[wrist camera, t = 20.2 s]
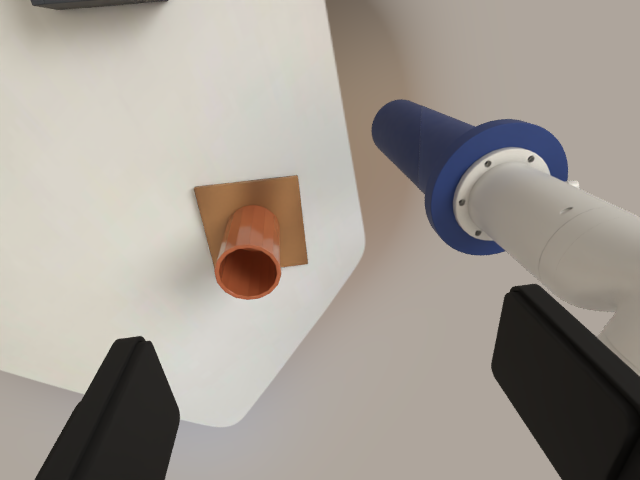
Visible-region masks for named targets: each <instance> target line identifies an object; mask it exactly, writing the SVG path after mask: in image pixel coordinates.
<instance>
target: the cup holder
mask: <svg viewBox="0 0 640 480" xmlns="http://www.w3.org/2000/svg"><path fill="white" fill-rule="evenodd" d="M157 1H168V0H31V3H32V5H33V6H39V7H44V8H50V9H56V10H64V9H76V8H88V7H99V6H111V5H123V4H135V3H146V2H157Z"/></svg>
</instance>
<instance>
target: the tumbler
mask: <svg viewBox="0 0 640 480" xmlns="http://www.w3.org/2000/svg"><path fill="white" fill-rule="evenodd" d="M214 272H215V276H216V280H217V283H218V284H219V285H220V287H221V288H222V289H223V290H224V291H225V292H226V293H228V294H230V295H232V296H233V297H235V298H241V299H246V300H247V299H248V300H250V299H258V298H261V297H263V296H265V295H267V294H269V293H271V292H272V291H273V290H274V288H275V287H276V286H277V285H278V283H279V280H280V277H281V233H280V225H279V222H278V219H277V218H276V216H275V215H274V214H273V213H272V212H271V211H270V210H268V209H266V208H264V207H261V206H257V205H248V206H244V207H241V208H239V209H238V210H236V211H235V212H234V213H233V214H232V215H231V217H230V218H229V220H228V223H227V227H226V230H225V234H224V237H223V241H222V244H221V248H220V251H219V255H218V258H217V262H216V266H215V271H214Z"/></svg>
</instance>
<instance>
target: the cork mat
mask: <svg viewBox="0 0 640 480" xmlns="http://www.w3.org/2000/svg"><path fill="white" fill-rule="evenodd" d="M194 191H195V195H196V199H197V203H198V206H199V210H200V214H201V218H202V222H203V226H204V229H205V233H206V237H207V241H208V245H209V249H210V252H211V256H212V260H213V264H214V268H215V266H216V262H217V258H218V255H219V251H220V248H221V244H222V241H223V237H224V234H225V230H226V227H227V223H228V220H229V218H230V217H231V215H232V214H233V213H234V212H235V211H236V210H238V209H239V208H241V207H244V206H248V205H257V206H261V207H264V208H266V209H268V210H270V211H271V212H272V213H273V214H274V215H275V216H276V218H277V219H278V222H279V225H280V233H281V267H287V266H295V265H303V264H308V260H307V252H306V243H305V234H304V226H303V217H302V208H301V200H300V191H299V183H298V176H297V175H296V176H287V177H278V178H269V179H260V180H251V181H242V182H233V183H225V184H216V185H207V186H198V187H194Z"/></svg>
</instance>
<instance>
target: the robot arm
mask: <svg viewBox="0 0 640 480" xmlns="http://www.w3.org/2000/svg"><path fill="white" fill-rule="evenodd" d="M485 162H486V163H485ZM453 212H454V215H455V219H456V221H457V222H458V224H459V226H460V227H461V228H462V229H463V230H464V231H465V232H467V233H468V234H469V235H470V236H472V237H474V238H477V239H481V240H489V241H493V240H494V241H495V242H496V243H497V244H498V245H499V246H501V247H502V248H503V249H504V250H505V251H506V252H507V253H508V254H510V255H511V256H512V257H513V258H514V259H515V260H516V261H518V262H519V263H520V264H521V265H522V266H523V267H524V268H525V269H526V270H528V271H529V272H530V273H531V274H532V275H534V277H536V278H537V279H538V280H539V281H540V282H541V283H542V284H543V285H545V286H546V287H547V288H548V289H549V290H550V291H551V292H552V293H553V294H555V295H556V296H557V297H559V298H560V299H562V300H563V301H565V302H567V303H569V304H571V305H574V306H576V307H580V308H583V309H588V310H595V311H607V312H615V314H614V315H613V317H612V318H611V319H610V320H609V322H608V323H607V324H606V325H605V327H604V329H603V330H602V332H601V333H600V334H599V335H598V336H597V337H595V335H594V334H592V333H591V332H590V331H589V330H588V329H587V328H586V327H585V326H584V325H582V324H581V323H580V322H579V321H578V320H577V319H576V318H575V317H574V316H573V315H571V314H570V313H569V312H568V311H567V310H566V309H565V308H564V307H562V306H561V305H560V304H559V303H558V302H557V301H556V300H555V299H554V298H553V297H551V296H550V295H549V294H548V293H547V292H546V291H545V290H544V289H543V288H541V287H540V286H539V285H537V284H530V285H522V286H515V287H512V288H511V290H510V292H509V293H507V294H506V295H505V297H504V302H503V307H502V312H501V317H500V323H499V327H498V333H497V338H496V343H495V349H494V353H493V358H492V363H491V368H492V372H493V375H494V377H495V379H496V380H497V382H498V383H499V385H500V386H501V388H502V389H503V391H504V392H505V394H506V395H507V397H508V398H509V400H510V402H511V403H512V404H513V406H514V408H515V409H516V411H517V412H518V414H519V415H520V417H521V418H522V420H523V421H524V423H525V424H526V426H527V427H528V428H529V430H530V432H531V433H532V435H533V436H534V438H535V439H536V441H537V442H538V444H539V445H540V447H541V448H542V450H543V451H544V453H545V454H546V456H547V458H548V459H549V461H550V462H551V464H552V465H553V467H554V468H555V470H556V471H557V473H558V474H559V476H560V477H561V479H562V480H640V217H639V216H637V215H635V214H633V213H631V212H628V211H626V210H624V209H622V208H620V207H617V206H615V205H613V204H611V203H609V202H607V201H605V200H603V199H600V198H598V197H596V196H594V195H592V194H589V193H587V192H585V191H583V190H581V189H579V183H578V182H577V181H574V180H573V181H565V182H564V181H562V180H559V179H557V178H555V177H553V176H551V175H550V172H549V169H548V166H547V164H546V163H545V162H544V160H543V159H542V158H541V157H540V156H538V155H537V154H536V153H534V152H531V151H529V150H526V149H523V148H518V147H507V148H501V149H498V150H495V151H492V152H490V153H488V154H486V155H484V156H483V157H481V158H480V159H478V160H477V161H475V162H474V163H473V164H472V165H471V166H470V167H469V168H468V169H467V171H466V172H465V173H464V175H463V176H462V177H461V179H460V181H459V183H458V185H457V187H456V190H455V193H454V199H453ZM179 421H180V413H179V408H178V406H177V403H176V401H175V398H174V396H173V393H172V391H171V388H170V386H169V383H168V381H167V378H166V376H165V374H164V371H163V369H162V366H161V364H160V361H159V359H158V356H157V354H156V351H155V349H154V346H153V344H152V342H151V341H145V339H144V338H143V337H142V336H138V337H130V338H123V339H117V340H116V341H115V342H114V343H113V345H112V346H111V348H110V350H109V352H108V354H107V355H106V357H105V359H104V361H103V363H102V364H101V366H100V368H99V370H98V372H97V373H96V375H95V377H94V379H93V381H92V382H91V384H90V386H89V388H88V390H87V391H86V393H85V395H84V397H83V399H82V401H81V402H79V403H78V405H77V406H76V407H75V409H74V411H73V412H72V414H71V416H70V418H69V420H68V421H67V423H66V425H65V427H64V429H63V430H62V432H61V434H60V436H59V437H58V439H57V441H56V443H55V444H54V446H53V448H52V450H51V451H50V453H49V455H48V457H47V459H46V461H45V462H44V464H43V466H42V468H41V469H40V471H39V473H38V475H37V476H36V478H35V480H165V476H166V472H167V468H168V464H169V460H170V457H171V453H172V449H173V446H174V441H175V438H176V434H177V430H178V426H179Z"/></svg>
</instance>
